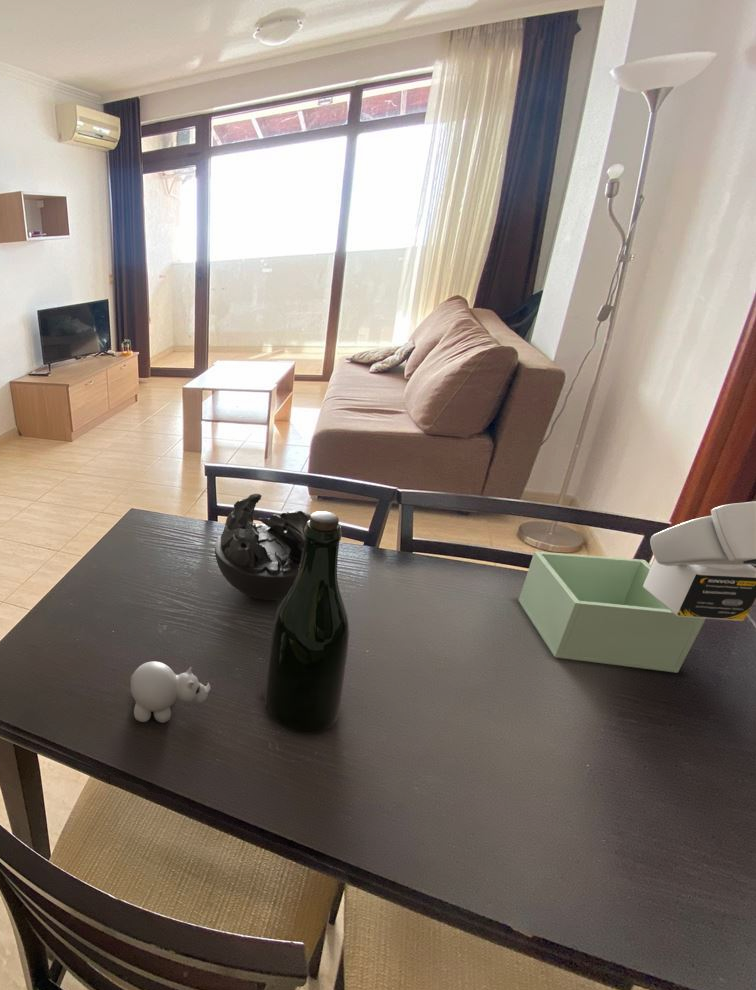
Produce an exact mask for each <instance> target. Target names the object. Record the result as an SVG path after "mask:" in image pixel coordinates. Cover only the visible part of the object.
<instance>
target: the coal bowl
mask: <svg viewBox="0 0 756 990" xmlns="http://www.w3.org/2000/svg"><path fill="white" fill-rule="evenodd" d="M262 496H263V495H261V494H260V493H257V492H254V493H252V494H250V495H248V497H246V498H245V497H244V498H242V499H240V500H237V501H236V502H235V503H234V504H233V508H234V510H232V511H231V512H229V514H228V515H227V517H226V519H225V525H224V528H223V531H222V533H221V534H220V535H219V537H217V539H216V540H215V544H214V554H215V555H214V556H215V560H216V563H217V566H218V568H219V570H220V572H221V574H222V575H223V577H224V578H225V580H226V581H227V582H228V583H229V584H230V585H231V586H232V587H233V588H234V589H236V590H237V591H239V592H240V593H242V594H244V595H245V596H248V597H251V598H254V599H256V600H263V601H277V600H282V599H283V597H284V596H285V594H286V593H287V591H288V590H289V588H290V586H291V585H292V583H293V581H294V580H295V577H296V575H297V573H298V569H299V566H300V562H301V557H302V551H303V544H304V528H305V526H306V523H307V522H308V521H310V517H311V514H309V513H308V512H305V511H302V510H298V511H297V510H289V511H285V512H282V513H280V514H275V513H274V514H270V516H269V518H268V517H263V518H259V521H260V522H261V524H258V523H257V524H256V523H254V513H255V508H256V506H257V504H258V503H259V501H261V498H262Z"/></svg>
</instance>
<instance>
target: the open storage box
mask: <svg viewBox="0 0 756 990" xmlns="http://www.w3.org/2000/svg"><path fill="white" fill-rule="evenodd" d="M651 566H652V564H650V563H649V562H648V561H647V560H646V559H639V558H625V557H612V556H600V555H587V554H574V553H562V552H561V553H560V552H547V551H536V550H534V552H533V554H532V558H531V561H530V563H529V567H528V570H527V573H526V576H525V579H524V582H523V585H522V588H521V592H520V594H519V598H518V602H519V604H520V605H521V607H522V609H523V610H524V612H525V613H526V615H527V616H528V618H529V620H530V621H531V623H532V624H533V626H534V627H535V629H536V630H537V632H538V633H539V635H540V637H541V638H542V640H543V641H544V643H545V645H546V646H547V647H548V649H549V651H550V652H551V654H552V655H553V657H555V658H557V659H565V660H566V659H567V660H573V661H581V662H590V663H598V664H604V665H605V664H606V665H613V666H620V667H629V668H630V667H631V668H637V669H646V670H652V671H661V672H667V673H668V672H669V673H676V674H677V673H680V672H679V671H680V670H681V667H683V664H684V662H685V661H686V658H687V656H688V654H689V652H690V651H691V648H692V646H693V644H694V642H695V641H696V639H697V637H698V636H699V633H700V631H701V629H702V627H703V626H704V623H705V621H706V619H703V618H688V617H678V616H676V615H675V614H674V613H672V612H671V611H670V610H669V609H668V608H667V607H666V606H664V605H663V604H662V603H661V602H660V601H659V600H657V599H656V598H655V597H654V596H653V595H652V594H650V593H649V592H648V591H647V590H646V589H645V588H644V587H643V585H644V582H645V580H646V578H647V575H648V573H649V571H650V568H651Z"/></svg>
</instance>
